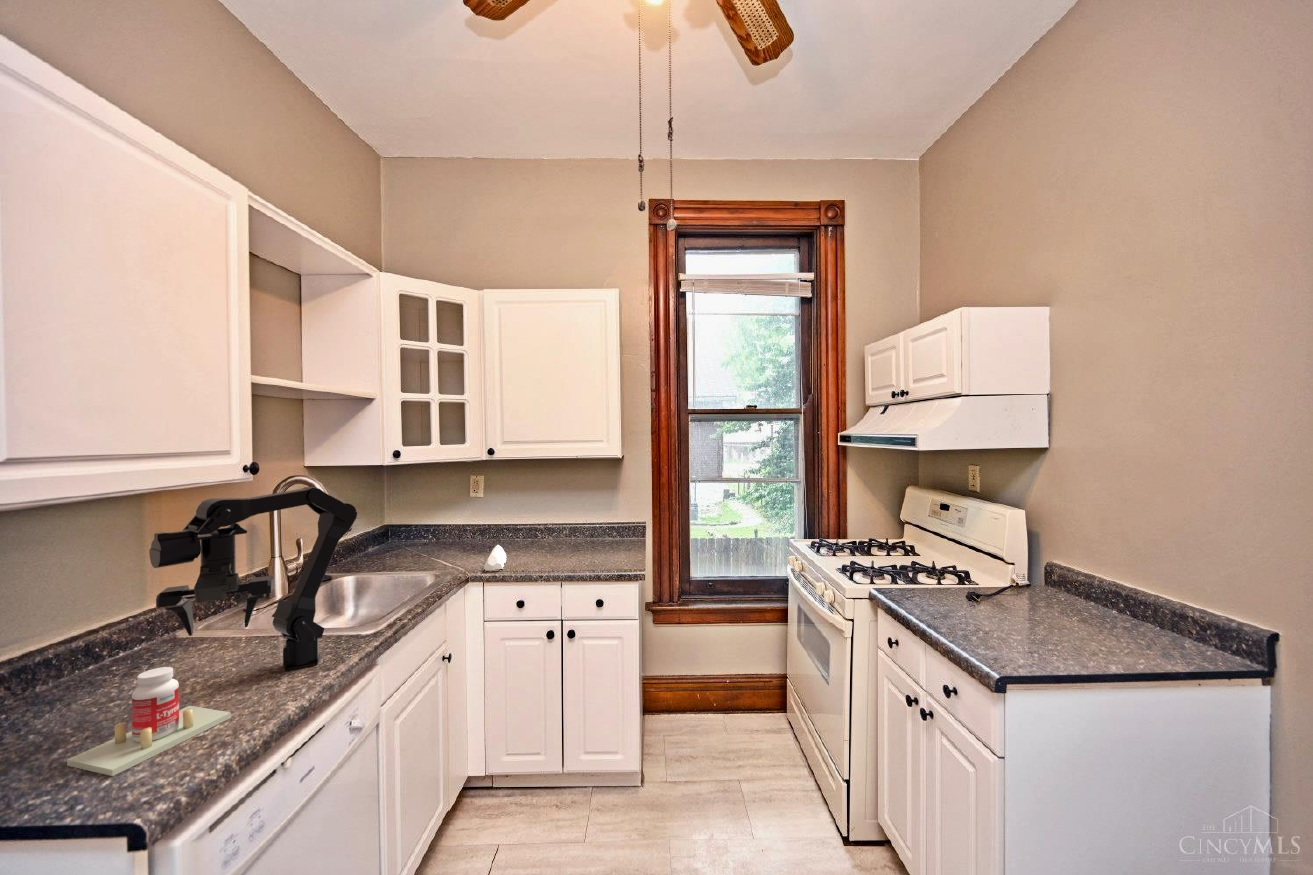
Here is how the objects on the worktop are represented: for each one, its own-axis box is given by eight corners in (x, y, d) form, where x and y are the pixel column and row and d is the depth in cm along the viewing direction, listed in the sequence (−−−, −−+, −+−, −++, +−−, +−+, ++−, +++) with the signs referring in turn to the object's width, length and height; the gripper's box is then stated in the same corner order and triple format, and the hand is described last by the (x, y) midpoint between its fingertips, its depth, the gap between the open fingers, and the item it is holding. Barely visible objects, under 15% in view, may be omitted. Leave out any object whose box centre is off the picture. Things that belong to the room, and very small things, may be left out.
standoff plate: (189, 710, 104) (189, 690, 104) (230, 717, 101) (230, 696, 101) (67, 765, 87) (66, 741, 87) (112, 776, 84) (112, 751, 84)
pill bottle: (159, 742, 91) (158, 679, 91) (121, 744, 91) (120, 680, 91) (188, 723, 97) (187, 663, 97) (153, 725, 97) (152, 665, 97)
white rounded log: (485, 551, 231) (477, 564, 208) (499, 542, 233) (494, 554, 209) (494, 565, 232) (487, 579, 209) (508, 556, 233) (503, 569, 210)
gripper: (145, 572, 100) (146, 653, 100) (266, 559, 109) (267, 634, 109) (164, 560, 110) (165, 634, 110) (274, 550, 119) (275, 618, 119)
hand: (219, 630), depth 112 cm, fingers open, 9 cm apart
